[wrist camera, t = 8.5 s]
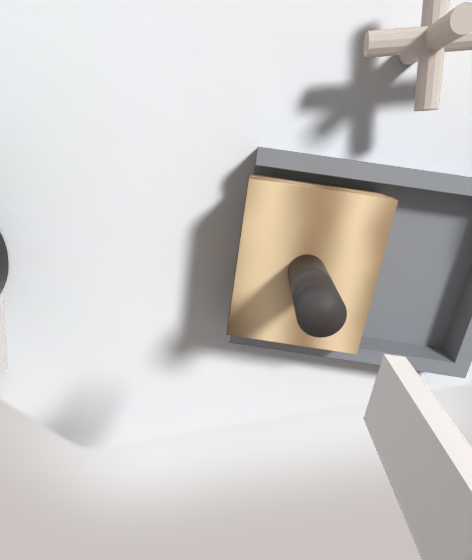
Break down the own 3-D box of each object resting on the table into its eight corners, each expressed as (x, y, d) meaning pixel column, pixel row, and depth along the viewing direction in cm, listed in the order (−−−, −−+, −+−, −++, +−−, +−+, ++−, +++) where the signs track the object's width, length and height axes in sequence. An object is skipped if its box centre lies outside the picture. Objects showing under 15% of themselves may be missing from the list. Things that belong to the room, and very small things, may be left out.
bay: (232, 323, 44) (229, 342, 40) (258, 146, 38) (258, 146, 34) (445, 355, 44) (465, 378, 39) (506, 182, 38) (537, 187, 33)
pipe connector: (461, 111, 36) (532, 98, 26) (349, 118, 37) (380, 108, 27) (476, -20, 33) (563, -87, 23) (354, -9, 33) (390, -70, 24)
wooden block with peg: (231, 309, 42) (215, 393, 27) (250, 173, 37) (243, 189, 23) (344, 326, 41) (386, 419, 27) (378, 191, 37) (450, 220, 23)
